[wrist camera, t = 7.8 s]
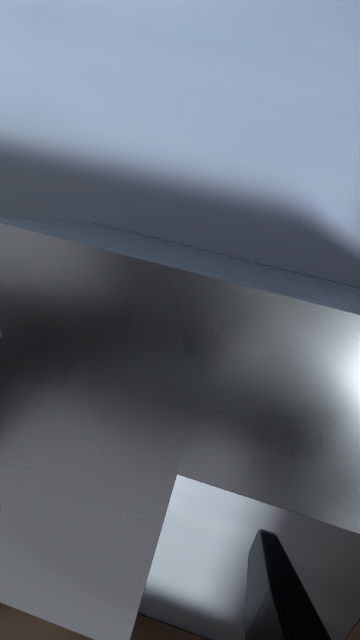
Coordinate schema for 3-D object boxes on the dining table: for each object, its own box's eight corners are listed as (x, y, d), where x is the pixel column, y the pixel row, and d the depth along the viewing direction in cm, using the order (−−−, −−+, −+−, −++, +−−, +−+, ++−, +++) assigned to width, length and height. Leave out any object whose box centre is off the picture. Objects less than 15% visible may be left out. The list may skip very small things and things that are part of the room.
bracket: (303, 551, 10) (342, 737, 6) (62, 469, 11) (-27, 591, 7) (430, 306, 7) (632, 384, 4) (92, 222, 8) (-27, 216, 5)
